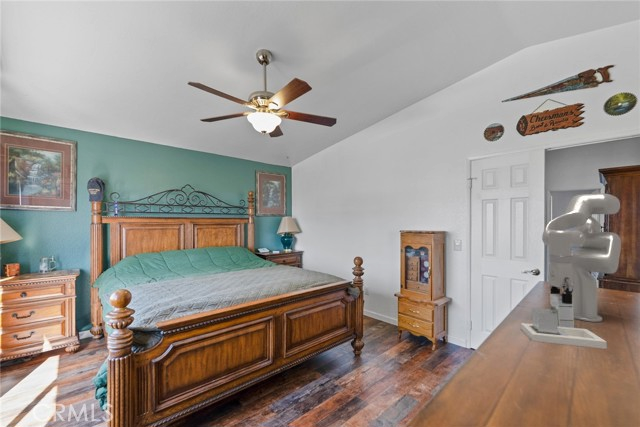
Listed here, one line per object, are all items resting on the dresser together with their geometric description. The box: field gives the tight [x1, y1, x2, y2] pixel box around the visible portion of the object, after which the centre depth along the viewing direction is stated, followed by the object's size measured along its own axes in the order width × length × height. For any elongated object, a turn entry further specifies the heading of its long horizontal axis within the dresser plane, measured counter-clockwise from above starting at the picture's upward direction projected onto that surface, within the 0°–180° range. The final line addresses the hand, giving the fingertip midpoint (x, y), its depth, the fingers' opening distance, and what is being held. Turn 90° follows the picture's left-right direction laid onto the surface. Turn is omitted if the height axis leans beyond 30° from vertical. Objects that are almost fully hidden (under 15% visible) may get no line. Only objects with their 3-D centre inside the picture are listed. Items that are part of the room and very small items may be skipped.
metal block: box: [531, 307, 558, 335], centre depth 110 cm, size 6×6×10 cm
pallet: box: [520, 322, 608, 350], centre depth 109 cm, size 12×22×4 cm, turn 72°
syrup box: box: [549, 293, 575, 328], centre depth 119 cm, size 6×6×14 cm
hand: (560, 300), depth 119 cm, fingers open, 9 cm apart
